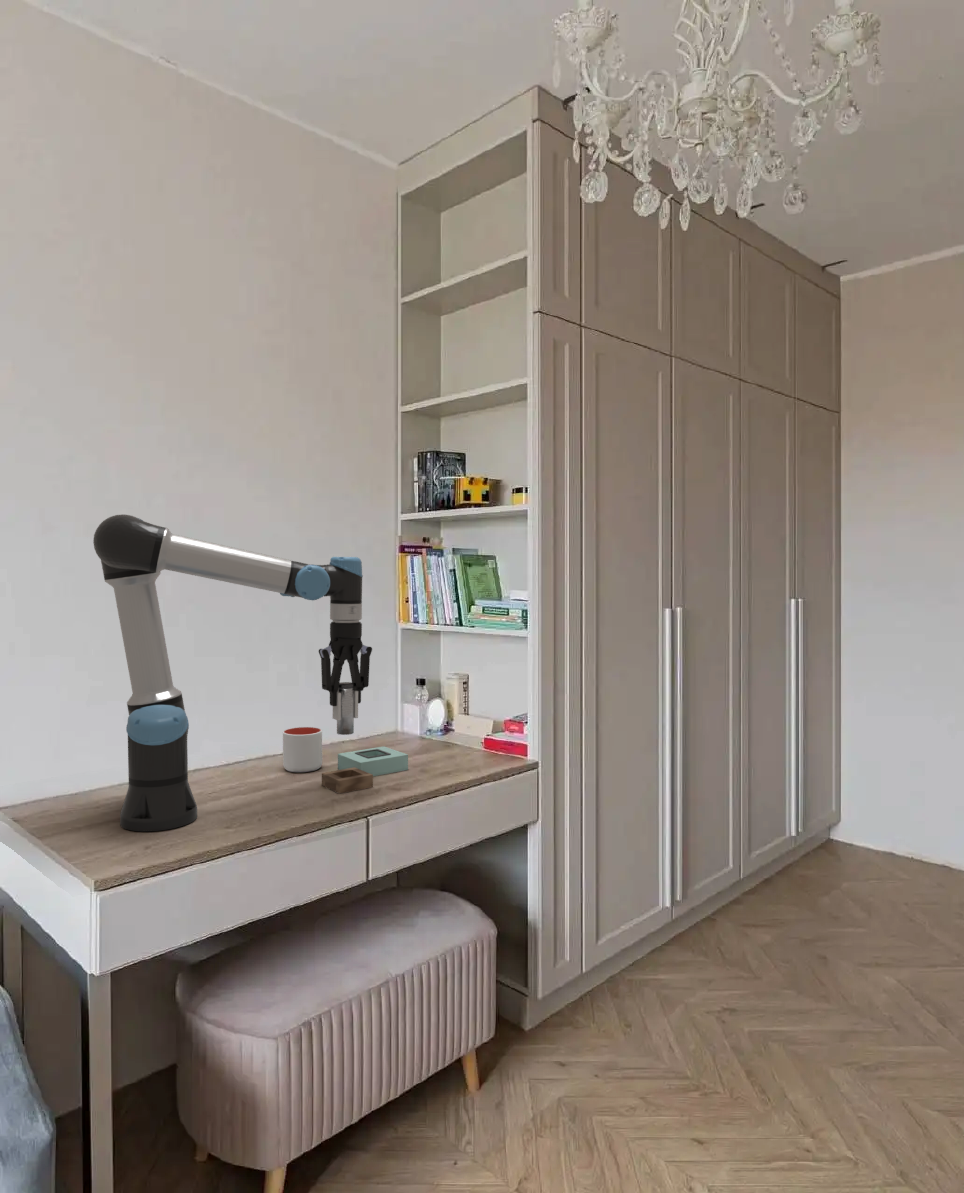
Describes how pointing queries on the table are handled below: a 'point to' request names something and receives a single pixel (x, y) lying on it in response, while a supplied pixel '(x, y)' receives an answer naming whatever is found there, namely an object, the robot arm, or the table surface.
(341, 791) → the brown wooden square tray
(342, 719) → the plug
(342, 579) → the robot arm
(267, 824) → the table surface
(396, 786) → the table surface
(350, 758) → the block
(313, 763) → the cup
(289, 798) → the table surface
